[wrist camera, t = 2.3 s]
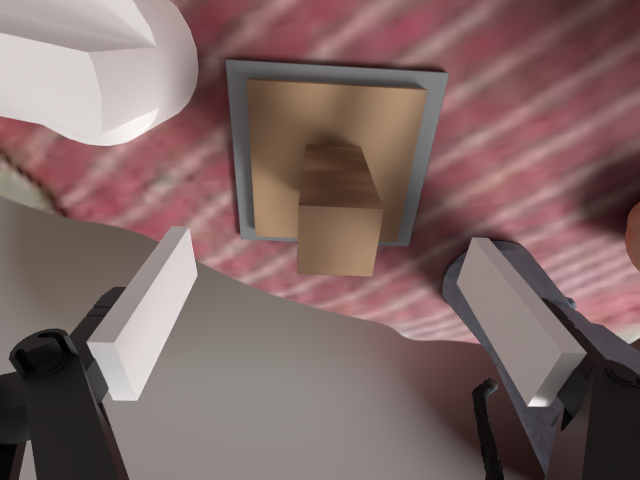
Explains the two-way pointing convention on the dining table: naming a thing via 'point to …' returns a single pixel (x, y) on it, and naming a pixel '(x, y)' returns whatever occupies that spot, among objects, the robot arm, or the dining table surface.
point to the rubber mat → (331, 74)
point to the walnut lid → (332, 167)
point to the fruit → (633, 235)
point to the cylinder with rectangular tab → (95, 66)
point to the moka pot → (530, 416)
